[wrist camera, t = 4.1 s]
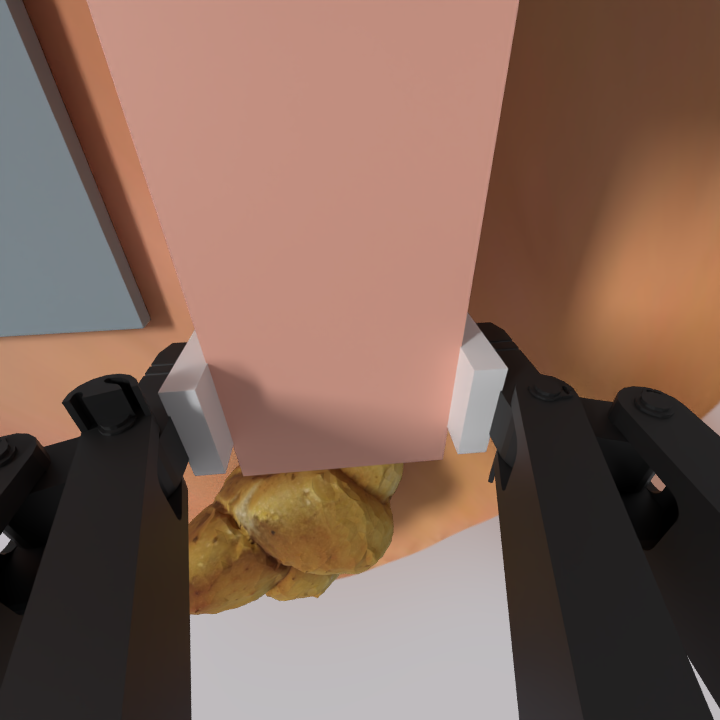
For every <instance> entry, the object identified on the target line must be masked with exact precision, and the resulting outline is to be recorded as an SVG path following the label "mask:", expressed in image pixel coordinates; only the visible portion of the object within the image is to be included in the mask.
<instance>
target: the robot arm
mask: <svg viewBox="0 0 720 720" xmlns="http://www.w3.org/2000/svg"><path fill="white" fill-rule="evenodd" d="M151 365H152V367H149V369H148V370H147V372H146V373H145V376H143V378H142V379H141V380H140V382H139V383H138V382H137V380H136V379H135V378H134V377H132V376H131V375H126V374H112V375H105V376H102V377H99V378H96V379H92V380H90V381H88V382H86V383H84V384H82V385H80V386H78V387H77V388H75V389H74V390H73V391H71V392H70V393H69V394H68V395H67V396H66V398H65V399H64V400H63V402H62V404H63V405H64V407H65V408H66V410H67V411H68V413H69V414H70V416H71V417H72V419H73V420H74V422H75V423H76V425H77V426H78V428H79V429H80V431H81V432H82V433H81V436H80V437H77V438H74V439H70V440H67V441H63V442H60V443H56V444H52V445H49V446H45V447H43V446H42V445H41V444H40V443H39V441H38V440H37V439H36V437H34V436H32V435H30V434H20V433H16V434H12V435H7V436H3V437H0V535H1V533H2V532H3V533H4V534H5V535H6V536H7V537H8V538H9V539H11V540H10V542H9V543H8V545H7V546H6V547H5V548H4V549H3V551H1V552H0V720H191V662H190V598H189V534H188V488H187V485H186V482H185V480H184V478H183V474H184V472H185V469H186V466H187V464H188V461H189V464H190V466H191V468H192V470H193V473H194V475H195V476H200V475H212V474H224V473H226V470H227V466H228V463H229V459H230V455H231V451H232V448H233V444H234V443H233V440H232V437H231V434H230V431H229V428H228V425H227V422H226V419H225V416H224V413H223V410H222V407H221V404H220V400H219V397H218V394H217V391H216V388H215V385H214V382H213V379H212V376H211V373H210V370H209V367H208V364H207V363H206V362H205V358H204V355H203V352H202V349H201V346H200V343H199V340H198V337H197V334H196V331H195V330H194V332H193V334H192V335H191V337H190V339H189V341H188V342H184V343H172V344H171V345H170V346H168V347H167V348H165V349H164V350H163V351H161V352H160V353H159V354H158V355H157V357H156V358H155V360H154V361H153V363H152V364H151ZM447 428H448V430H449V433H450V435H451V438H452V441H453V443H454V446H455V448H456V451H457V453H458V454H466V453H478V452H486V450H487V446H488V442H489V439H490V437H491V439H492V441H493V443H494V444H495V446H496V448H497V451H496V454H495V458H494V461H493V465H492V468H491V471H490V475H489V480H488V482H490V483H493V480H494V477H495V481H496V491H497V501H498V511H499V521H500V531H501V541H502V551H503V560H504V571H505V581H506V591H507V601H508V610H509V621H510V631H511V641H512V651H513V661H514V671H515V681H516V691H517V701H518V711H519V720H714V719H713V717H712V714H711V712H710V709H709V707H708V705H707V702H706V700H705V698H704V695H703V693H702V691H701V688H700V685H699V683H698V681H697V678H696V676H695V673H694V671H693V669H692V666H691V664H690V662H689V659H690V661H691V663H692V664H693V666H694V667H695V669H696V671H697V672H698V674H699V675H700V677H701V678H702V680H703V682H704V684H705V685H706V687H707V688H708V690H709V692H710V693H711V695H712V697H713V698H714V700H715V702H716V703H717V705H718V706H719V708H720V436H719V435H718V434H716V433H715V432H714V431H713V430H712V429H711V428H710V427H709V426H707V425H706V424H705V423H704V422H703V421H702V420H701V419H699V418H698V417H697V416H696V415H695V414H694V413H693V412H692V411H690V410H689V409H688V408H687V407H686V406H685V405H683V404H682V403H681V402H679V401H678V400H676V399H675V398H673V397H671V396H669V395H667V394H665V393H663V392H661V391H658V390H655V389H654V390H653V389H651V388H646V387H635V386H632V387H627V388H623V389H622V390H621V391H619V392H618V394H617V396H616V398H615V400H614V402H608V401H601V400H594V399H587V398H581V397H579V396H578V394H577V393H576V392H575V390H574V389H573V388H572V387H571V386H570V385H568V384H567V383H565V382H564V381H562V380H559V379H557V378H555V377H552V376H547V375H542V374H540V373H539V372H538V371H537V370H536V368H535V367H534V366H533V365H532V363H531V362H530V361H529V360H528V359H527V357H526V356H525V355H524V354H523V353H522V351H521V350H518V347H517V345H516V344H515V343H514V342H512V339H511V338H510V337H509V336H508V334H507V333H506V332H505V331H504V330H503V329H501V328H499V327H498V326H496V325H494V324H493V323H491V322H489V323H475V322H474V320H473V319H472V318H471V316H470V315H469V313H468V312H467V317H466V323H465V329H464V335H463V341H462V347H460V352H459V358H458V364H457V370H456V376H455V382H454V389H453V395H452V401H451V407H450V413H449V419H448V425H447ZM655 474H656V475H657V476H658V477H659V478H660V479H661V481H662V482H663V483H664V484H665V485H666V487H665V488H664V490H663V491H659V490H658V489H657V488H656V487H655V486H654V485H653V484H652V483H651V479H652V478H653V476H654V475H655ZM687 656H688V657H687ZM688 658H689V659H688Z"/></svg>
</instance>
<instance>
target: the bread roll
mask: <svg viewBox="0 0 720 720" xmlns="http://www.w3.org/2000/svg"><path fill="white" fill-rule="evenodd" d="M402 473H403V463H396V464H384V465H372V466H360V467H348V468H336V469H324V470H312V471H300V472H288V473H276V474H264V475H252V476H243V474H242V471H241V468H240V465H239V466H238V467H236V468H235V469H234V470H233V472H232V473H231V474H230V475H229V476H228V478H227V479H226V480H225V483H224V486H223V487H222V489H221V490H220V492H219V493H218V494H217V496H216V497H215V500H214V503H213V504H211V505H209V506H208V507H206V508H205V509H204V510H203V511H202V512H201V513H199V514H198V515H197V516H196V517H195V518H194V519H193V520H192V521H191V522H190V523H189V524H188V534H189V598H190V614H194V615H199V614H217V613H219V612H222V611H225V610H229V609H234V608H238V607H240V606H243V605H245V604H247V603H249V602H252V601H255V600H257V599H258V598H259V597H261V596H263V595H264V594H266V595H267V596H269V597H272V598H274V599H277V600H279V601H287V600H293V599H296V598H305V597H310V596H313V597H317V598H318V597H319V596H320V595H321V594H323V593H324V592H325V590H326V589H327V588H328V587H329V586H330V585H331V583H332V582H333V581H334V580H335V579H336V578H337V577H338V576H339V574H344V573H345V574H359V573H362V572H364V571H366V570H368V569H369V568H370V567H371V566H373V565H374V564H376V563H377V561H378V560H379V559H380V558H382V557H383V555H384V553H385V551H386V550H387V548H388V547H389V545H390V543H391V541H392V535H393V527H394V526H393V516H392V512H391V508H390V499H391V497H392V495H393V493H395V490H396V489H397V487H398V485H399V482H400V480H401V479H402Z"/></svg>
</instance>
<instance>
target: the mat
mask: <svg viewBox="0 0 720 720" xmlns="http://www.w3.org/2000/svg"><path fill="white" fill-rule="evenodd" d="M150 320H151V319H150V316H149V314H148V311H147V309H146V306H145V304H144V302H143V299H142V297H141V294H140V292H139V289H138V287H137V284H136V282H135V279H134V277H133V274H132V272H131V269H130V267H129V264H128V262H127V259H126V257H125V254H124V252H123V249H122V247H121V244H120V242H119V240H118V237H117V235H116V232H115V230H114V227H113V225H112V222H111V220H110V217H109V215H108V212H107V210H106V207H105V205H104V202H103V200H102V197H101V195H100V192H99V190H98V187H97V185H96V182H95V180H94V178H93V175H92V173H91V170H90V168H89V165H88V163H87V160H86V158H85V155H84V153H83V150H82V148H81V145H80V143H79V140H78V138H77V135H76V133H75V130H74V128H73V125H72V123H71V120H70V118H69V115H68V113H67V111H66V108H65V106H64V103H63V101H62V98H61V96H60V93H59V91H58V88H57V86H56V83H55V81H54V78H53V76H52V73H51V71H50V68H49V66H48V63H47V61H46V58H45V56H44V53H43V51H42V49H41V46H40V44H39V41H38V39H37V36H36V34H35V31H34V29H33V26H32V24H31V21H30V19H29V16H28V14H27V11H26V9H25V6H24V4H23V1H22V0H0V337H4V336H21V335H38V334H55V333H72V332H88V331H105V330H122V329H139V328H144V327H145V326H146V325H147V324H148V322H149V321H150Z"/></svg>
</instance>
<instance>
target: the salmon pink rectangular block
mask: <svg viewBox="0 0 720 720" xmlns="http://www.w3.org/2000/svg"><path fill="white" fill-rule="evenodd" d="M87 3H88V7H89V10H90V13H91V16H92V19H93V22H94V25H95V28H96V31H97V34H98V37H99V40H100V43H101V46H102V49H103V52H104V55H105V58H106V61H107V64H108V67H109V70H110V73H111V76H112V79H113V82H114V85H115V88H116V91H117V94H118V98H119V101H120V104H121V107H122V110H123V113H124V116H125V119H126V122H127V125H128V128H129V131H130V134H131V137H132V140H133V143H134V146H135V149H136V152H137V155H138V158H139V161H140V164H141V167H142V170H143V173H144V176H145V179H146V182H147V186H148V189H149V192H150V195H151V198H152V201H153V204H154V207H155V210H156V213H157V216H158V219H159V222H160V225H161V228H162V231H163V234H164V237H165V240H166V243H167V246H168V249H169V252H170V255H171V258H172V261H173V264H174V267H175V270H176V274H177V277H178V280H179V283H180V286H181V289H182V292H183V295H184V298H185V301H186V304H187V307H188V310H189V313H190V316H191V319H192V322H193V325H194V328H195V331H196V334H197V337H198V340H199V343H200V346H201V349H202V352H203V355H204V358H205V362H206V363H207V364H208V367H209V370H210V373H211V376H212V379H213V382H214V385H215V388H216V391H217V394H218V397H219V400H220V404H221V407H222V410H223V413H224V416H225V419H226V422H227V425H228V428H229V431H230V434H231V437H232V440H233V443H234V444H233V446H234V449H235V453H236V456H237V459H238V462H239V465H240V468H241V471H242V474H243V476H252V475H264V474H276V473H288V472H300V471H312V470H324V469H336V468H348V467H360V466H372V465H384V464H396V463H408V462H420V461H432V460H443V455H444V449H445V443H446V437H447V431H448V428H447V425H448V419H449V413H450V407H451V401H452V395H453V389H454V382H455V376H456V370H457V364H458V358H459V352H460V347H462V341H463V335H464V329H465V323H466V317H467V311H468V305H469V299H470V293H471V287H472V281H473V275H474V269H475V263H476V257H477V251H478V245H479V239H480V233H481V227H482V221H483V215H484V209H485V203H486V197H487V191H488V185H489V179H490V173H491V167H492V161H493V155H494V149H495V143H496V137H497V131H498V125H499V119H500V113H501V107H502V101H503V95H504V89H505V83H506V77H507V71H508V65H509V59H510V53H511V47H512V41H513V35H514V29H515V23H516V17H517V11H518V5H519V0H87Z"/></svg>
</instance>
